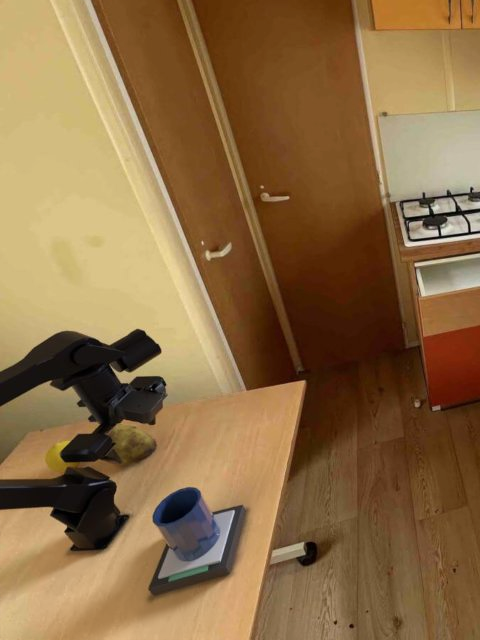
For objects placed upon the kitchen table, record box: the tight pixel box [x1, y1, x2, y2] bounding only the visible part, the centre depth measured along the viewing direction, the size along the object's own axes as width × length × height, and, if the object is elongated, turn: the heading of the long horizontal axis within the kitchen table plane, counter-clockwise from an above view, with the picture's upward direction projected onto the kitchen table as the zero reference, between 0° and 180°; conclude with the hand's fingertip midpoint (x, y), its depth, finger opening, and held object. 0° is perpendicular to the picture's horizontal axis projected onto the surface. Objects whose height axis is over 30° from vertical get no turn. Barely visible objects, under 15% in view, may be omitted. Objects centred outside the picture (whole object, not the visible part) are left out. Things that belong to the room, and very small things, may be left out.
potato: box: [108, 423, 157, 465], centre depth 97 cm, size 8×13×8 cm, turn 67°
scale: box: [147, 504, 247, 597], centre depth 80 cm, size 12×12×3 cm
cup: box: [151, 486, 220, 562], centre depth 77 cm, size 7×7×11 cm
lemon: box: [44, 440, 81, 473], centre depth 94 cm, size 6×6×8 cm
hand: (136, 443), depth 87 cm, fingers open, 9 cm apart
